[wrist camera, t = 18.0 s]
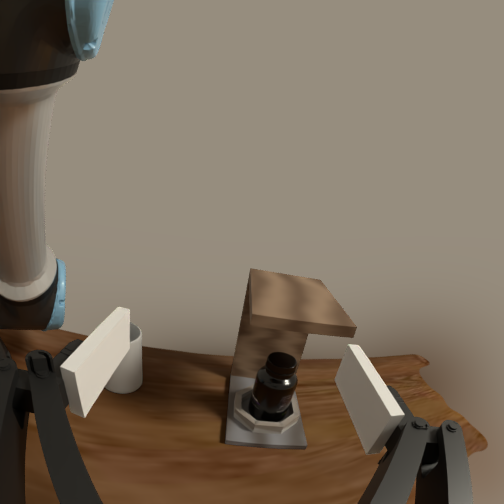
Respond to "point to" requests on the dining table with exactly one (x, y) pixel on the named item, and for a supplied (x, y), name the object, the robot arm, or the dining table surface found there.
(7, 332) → the dining table surface
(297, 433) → the awning stand
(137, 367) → the mug
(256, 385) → the supplement bottle
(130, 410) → the dining table surface
